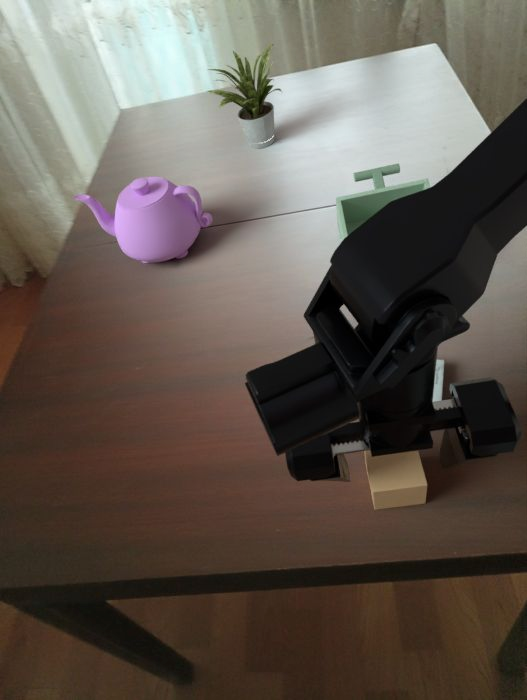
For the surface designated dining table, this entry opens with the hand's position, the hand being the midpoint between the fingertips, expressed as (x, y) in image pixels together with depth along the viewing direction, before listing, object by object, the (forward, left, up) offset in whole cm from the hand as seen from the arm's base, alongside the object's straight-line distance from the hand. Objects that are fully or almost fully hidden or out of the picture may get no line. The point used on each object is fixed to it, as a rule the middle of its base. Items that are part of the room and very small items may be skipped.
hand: (394, 470), depth 49 cm
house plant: (+10, -75, -3) cm, 76 cm away
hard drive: (-1, -11, -3) cm, 12 cm away
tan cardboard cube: (0, 0, -3) cm, 3 cm away
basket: (-6, -36, 0) cm, 37 cm away
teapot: (+29, -47, -3) cm, 55 cm away
